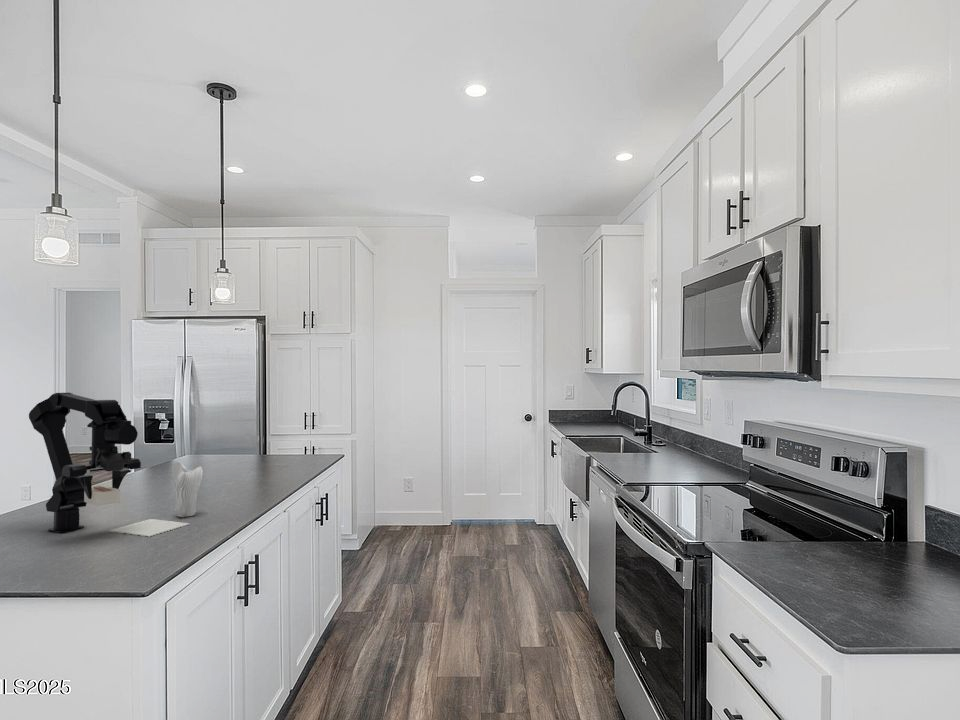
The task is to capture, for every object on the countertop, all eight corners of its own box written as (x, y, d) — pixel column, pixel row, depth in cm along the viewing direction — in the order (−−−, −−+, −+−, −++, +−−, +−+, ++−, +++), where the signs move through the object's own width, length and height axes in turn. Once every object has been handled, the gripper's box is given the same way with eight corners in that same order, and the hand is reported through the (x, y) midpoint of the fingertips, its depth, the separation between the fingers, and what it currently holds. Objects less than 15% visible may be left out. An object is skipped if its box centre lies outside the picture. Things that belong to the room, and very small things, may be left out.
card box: (84, 501, 163) (84, 487, 163) (107, 498, 168) (107, 484, 168) (96, 506, 158) (96, 491, 158) (120, 502, 162) (120, 488, 162)
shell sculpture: (204, 515, 185) (205, 461, 185) (177, 520, 179) (178, 464, 179) (194, 511, 191) (195, 458, 191) (168, 515, 185) (169, 461, 185)
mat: (109, 531, 166) (109, 530, 166) (151, 520, 179) (151, 518, 179) (149, 537, 161) (149, 535, 161) (189, 524, 174) (189, 523, 174)
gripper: (79, 448, 151) (78, 506, 150) (151, 441, 167) (150, 494, 166) (61, 445, 157) (60, 501, 156) (132, 439, 173) (131, 490, 172)
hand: (102, 496), depth 163 cm, fingers closed on card box, 6 cm apart
